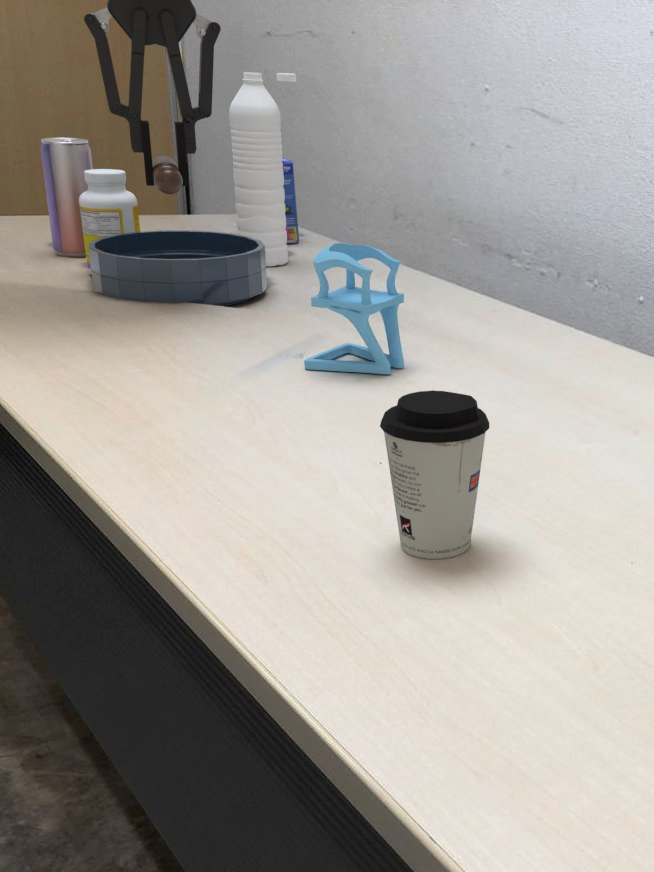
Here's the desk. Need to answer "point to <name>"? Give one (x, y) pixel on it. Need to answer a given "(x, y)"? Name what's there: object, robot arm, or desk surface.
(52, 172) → the beverage can
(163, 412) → the desk surface
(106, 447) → the desk surface
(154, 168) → the chocolate candy
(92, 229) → the supplement bottle
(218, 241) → the bowl
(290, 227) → the ink cartridge box
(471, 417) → the coffee cup
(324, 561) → the desk surface
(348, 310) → the chair
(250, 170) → the water bottle
